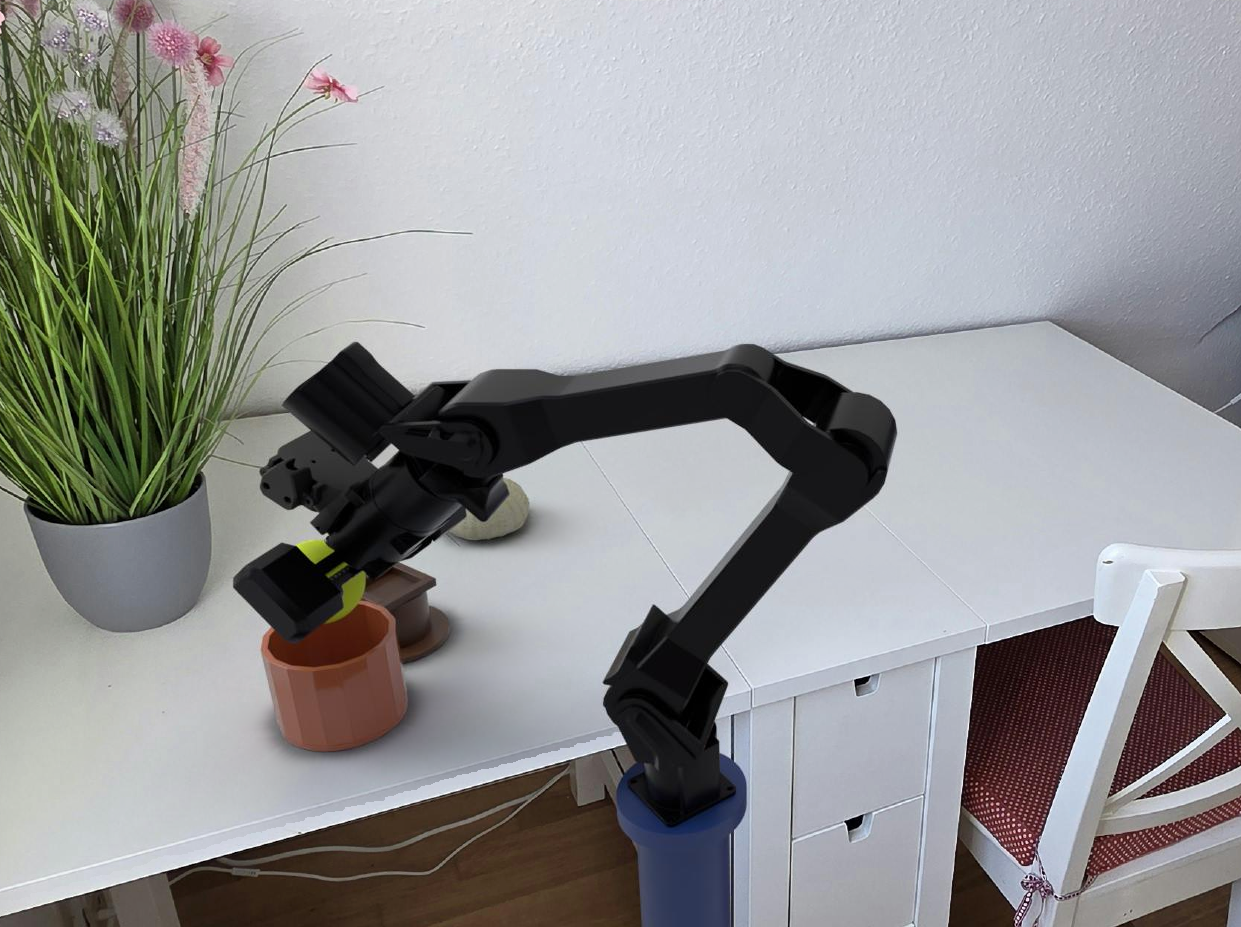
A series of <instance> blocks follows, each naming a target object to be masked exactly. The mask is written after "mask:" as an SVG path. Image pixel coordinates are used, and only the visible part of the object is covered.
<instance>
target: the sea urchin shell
mask: <svg viewBox="0 0 1241 927" xmlns="http://www.w3.org/2000/svg"><path fill="white" fill-rule="evenodd" d="M503 481H504V482H505V483H506V484H507V487H508V490H509V493H510V494H509V496H508V498H507V499H506V500H505V501H504V502H503V503H502V504H501V506H500V507H499V508H498V509H497V510H496V511H495V513H494V514H493V515H492V516H491V517H490V518H489V519H488V521H486V522H481V521H479V520H478V519H477V518H476V517H475V516H474V515H472V514H471V513H470V512H469V511H468V510H467V509H466V514H467V517H466V518H465V519H463V520H462V521H461V522H460V523H459V524H458V525H457V526H455V527H454V528H453V529H451V530H450V531H449V533H451V534H453V536H455V537H458V538H463V539H465V540H468V541H480V540H491V539H494V538H498V537H501V538H502V537H504V536H506V535H508V534H510V533H513V532H514V533H515V531H517V530H519V529H521V528H522V527H523V525H524V524H525V522H526V520H527V518H528V516H529V515H530V513H529V511H530V501H529V500H530V499H529V497H528V496H527V494H526V492H525V490H524V489H523V488H522V487H521V484H518V483H517V482H516V481H514V480H512V479H511V478H507V477H503Z"/></svg>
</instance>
